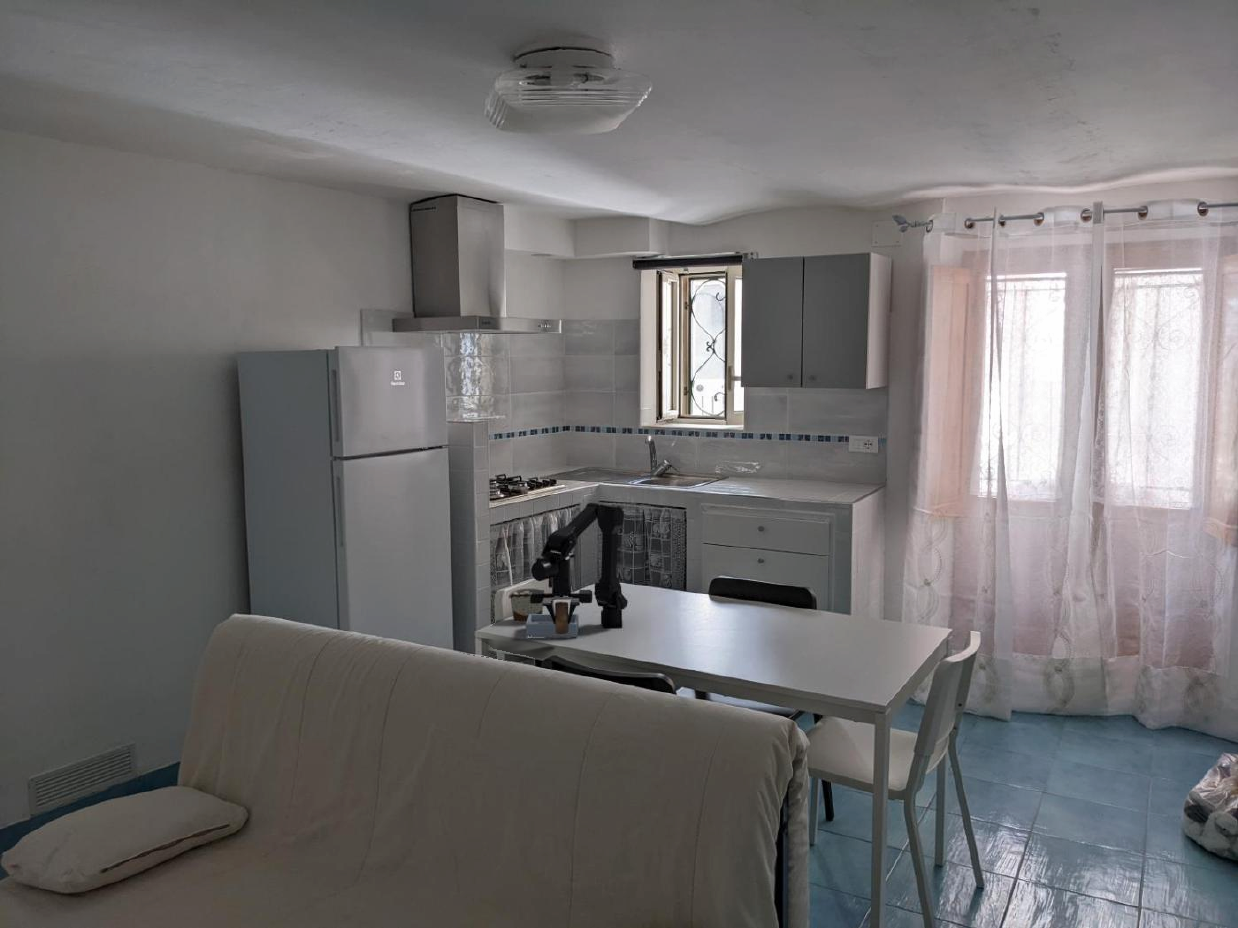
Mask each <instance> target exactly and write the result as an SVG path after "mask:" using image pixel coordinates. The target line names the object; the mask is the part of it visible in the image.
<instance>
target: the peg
mask: <svg viewBox="0 0 1238 928" xmlns="http://www.w3.org/2000/svg"><path fill="white" fill-rule="evenodd" d="M554 611H555V627H556V633H557V634H566V633H568V632H569V624H568V614H569V602H568V601H557V602H555V603H554Z"/></svg>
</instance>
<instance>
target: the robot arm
mask: <svg viewBox="0 0 1238 928" xmlns="http://www.w3.org/2000/svg"><path fill="white" fill-rule="evenodd" d="M624 518H625V511H624V509H622V507H621V506H617V505H616V506H615V505H607V504H601V503H598V502H588V503H586V505H585V508H583V510H582V511H581V512H579V514H578V515H576V516H575V517H574V518H573V519H572V520H571V521H570V522H569V523H568V524H567V525H565V526H563V527H560V528H558V529H555V531H553V532H551V533H550V534H549V535H548V537H547V541H546V543H545V545H544V547H543V549H542V552H541V555H540V556H541V557H539V556H538V557H536V558H535V562H534V563H533V564H532V566H531V569H530V573H531V576H532V578H533V579H534V580H536V581H537V582H542V581H546V580H548V588H549V589H550V588H551V593H550V592H547V593H545V590H544V589H539V590H533V591H532V592H531V595H530V603H531V604H540V603H541V602H542V601H543V607H546V610H547V611H548V614H550V615H551V618H552V620H553V623H554V624H555V603H554V601H555V600H557V601H558V600H561V601H562V600H570V602H569V607H568V614H569V617H568V624H570V621H571V618H572V615H573V614H574V613H575V610H576V607H580V605H581V604H591V603H593V595H594V597H595V601H596V604H597V606H598V607H602V609H601V610H600V624H601V625H602V627H601V628H604V629H606V628H607V629H608V628H613V629H614V628H623V610H625V609H626V608H628V607H627V606H628V603H629V602H628V599H627V598H626V597H625V596H624V595H623V592H622V585H621V583H620V581H619V578H618V576H617V573H618V572H617V571H618V570H617V568H618V567H617V566H618V542H619V541H618V539H619V537H618V536H619V535H618V534H619V532H620V531H621V529H622V527H623V525H624ZM596 520H597V525H598V527H599V530H600V531H601V534H602V535H601V537H602V539H601V568H600V570H601V574H600V578H599V580H598V581H595V583H594V591H592V590H591V589H579V592H573V593H572V591H573V590H572V580H571V579H572V578H571V559H572V558H575V557H576V555H575V554H574V553H573V552H572V551H573V550H574V548H575V547H576V545H577V543H578V538H579V537H580V536H581V535H582V534H583V533H584V532H585V531H586V529H588V528H589V527H590V526H591V525H592V524H593V523H594V522H595V521H596Z"/></svg>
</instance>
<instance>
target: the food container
mask: <svg viewBox="0 0 1238 928" xmlns="http://www.w3.org/2000/svg"><path fill="white" fill-rule="evenodd" d="M533 590H540V589H538V588H519V589H515V590H512V591H510V592H509V596H508V599H510V602H511V603H510V604H511V610H512V618H513V622H514V621H519V622H518V623H526V622H527V619H528V616H529V614H544V613H543V609H544V606H543V601H542V602H541V603H540V604H531V603H530V595H531V592H532V591H533Z"/></svg>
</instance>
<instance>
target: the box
mask: <svg viewBox="0 0 1238 928" xmlns="http://www.w3.org/2000/svg"><path fill="white" fill-rule="evenodd" d="M568 617H569V613H568ZM579 618H580V617H579V613H573V615H572V618H571V621H570V624H569V632H568V633H566V634H557V633H556V627H555V624H554V623H553V620H552V618H551V615H550V613H542V614H529V616H528V619H527V622H525V637H526V636H527V637H528V636H529V637H531V636H532V637H577V638H578V633H579V628H580V627H579V626H580V625H579V623H580V622H579Z"/></svg>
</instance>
